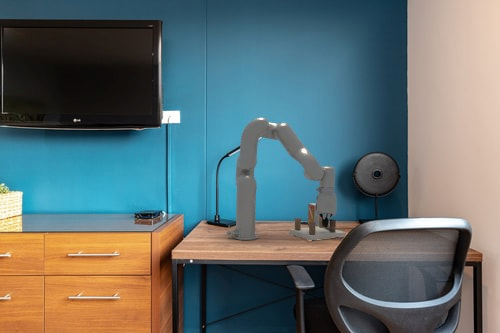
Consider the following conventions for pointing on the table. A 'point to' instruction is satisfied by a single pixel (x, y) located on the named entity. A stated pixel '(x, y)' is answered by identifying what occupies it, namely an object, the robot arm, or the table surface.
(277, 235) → the table surface
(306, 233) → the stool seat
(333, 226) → the grey and brown lever
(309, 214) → the small box
